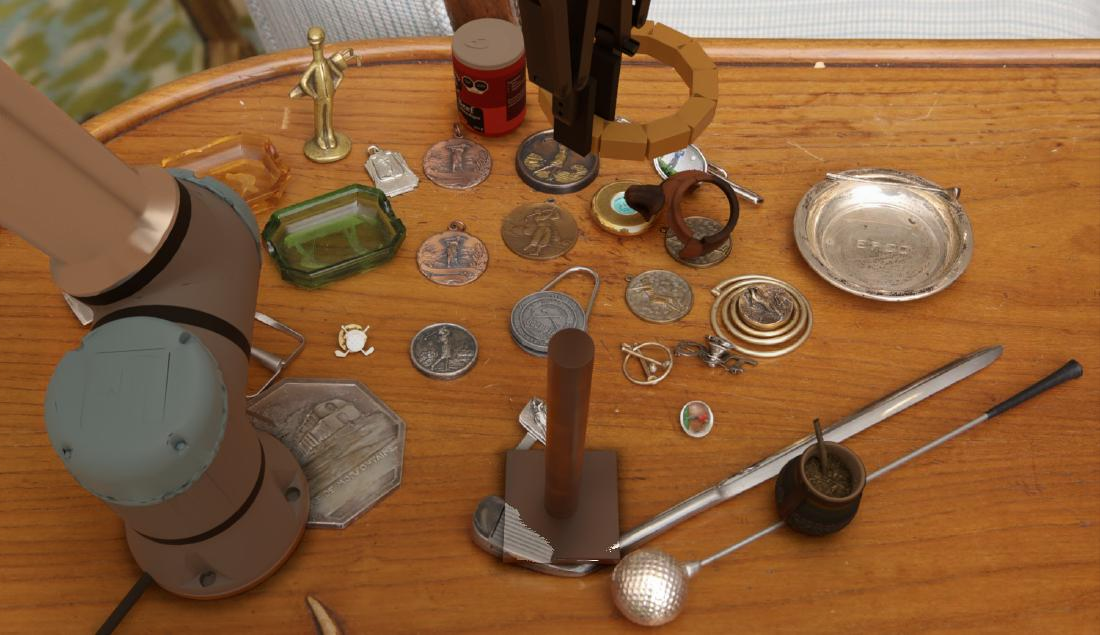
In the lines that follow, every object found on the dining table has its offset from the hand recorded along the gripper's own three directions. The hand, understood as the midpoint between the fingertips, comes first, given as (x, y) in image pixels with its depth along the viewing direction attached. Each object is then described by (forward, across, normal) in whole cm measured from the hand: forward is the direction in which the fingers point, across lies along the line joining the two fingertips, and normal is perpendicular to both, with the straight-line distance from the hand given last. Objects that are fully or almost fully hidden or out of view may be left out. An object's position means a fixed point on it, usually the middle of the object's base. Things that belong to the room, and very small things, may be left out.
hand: (583, 134), depth 64 cm
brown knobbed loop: (+31, +20, +1) cm, 37 cm away
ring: (0, +5, 0) cm, 5 cm away
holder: (+31, -13, -9) cm, 35 cm away
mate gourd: (+31, +1, -26) cm, 41 cm away
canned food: (+31, +21, +27) cm, 46 cm away
